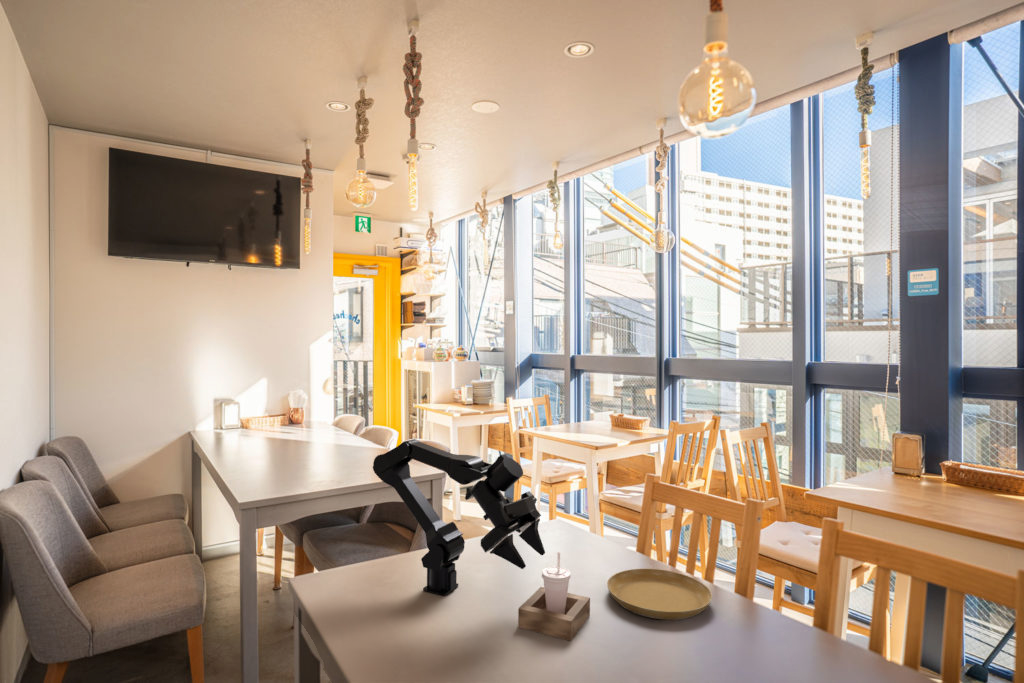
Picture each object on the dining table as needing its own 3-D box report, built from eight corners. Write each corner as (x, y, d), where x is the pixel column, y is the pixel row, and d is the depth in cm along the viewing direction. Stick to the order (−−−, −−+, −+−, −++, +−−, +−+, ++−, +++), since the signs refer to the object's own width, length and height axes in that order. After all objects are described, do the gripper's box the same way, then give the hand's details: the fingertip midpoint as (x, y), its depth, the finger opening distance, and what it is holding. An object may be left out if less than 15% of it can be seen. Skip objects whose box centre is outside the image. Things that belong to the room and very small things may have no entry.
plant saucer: (615, 574, 150) (615, 561, 150) (712, 588, 142) (712, 575, 142) (598, 615, 127) (598, 600, 127) (711, 635, 119) (712, 619, 119)
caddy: (518, 627, 121) (518, 608, 121) (540, 604, 132) (540, 586, 132) (571, 640, 116) (571, 621, 116) (589, 615, 126) (590, 597, 126)
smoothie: (574, 621, 122) (575, 556, 122) (546, 624, 120) (546, 559, 120) (564, 607, 128) (565, 546, 128) (537, 610, 127) (538, 548, 127)
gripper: (493, 491, 121) (538, 554, 115) (534, 474, 137) (575, 528, 131) (462, 521, 125) (504, 583, 119) (505, 501, 141) (544, 555, 135)
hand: (534, 560), depth 126 cm, fingers open, 9 cm apart
